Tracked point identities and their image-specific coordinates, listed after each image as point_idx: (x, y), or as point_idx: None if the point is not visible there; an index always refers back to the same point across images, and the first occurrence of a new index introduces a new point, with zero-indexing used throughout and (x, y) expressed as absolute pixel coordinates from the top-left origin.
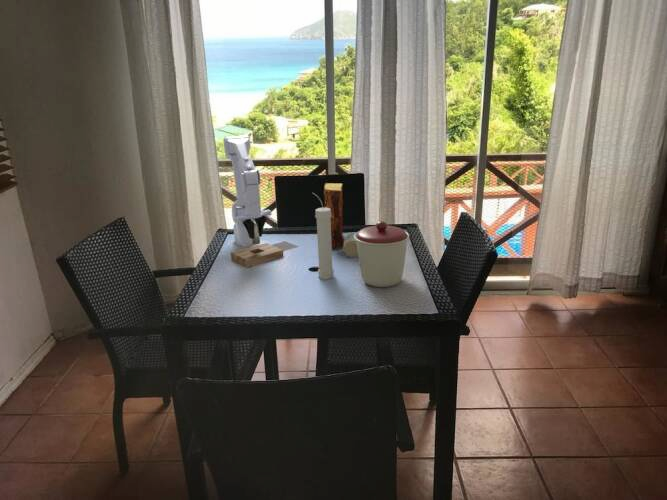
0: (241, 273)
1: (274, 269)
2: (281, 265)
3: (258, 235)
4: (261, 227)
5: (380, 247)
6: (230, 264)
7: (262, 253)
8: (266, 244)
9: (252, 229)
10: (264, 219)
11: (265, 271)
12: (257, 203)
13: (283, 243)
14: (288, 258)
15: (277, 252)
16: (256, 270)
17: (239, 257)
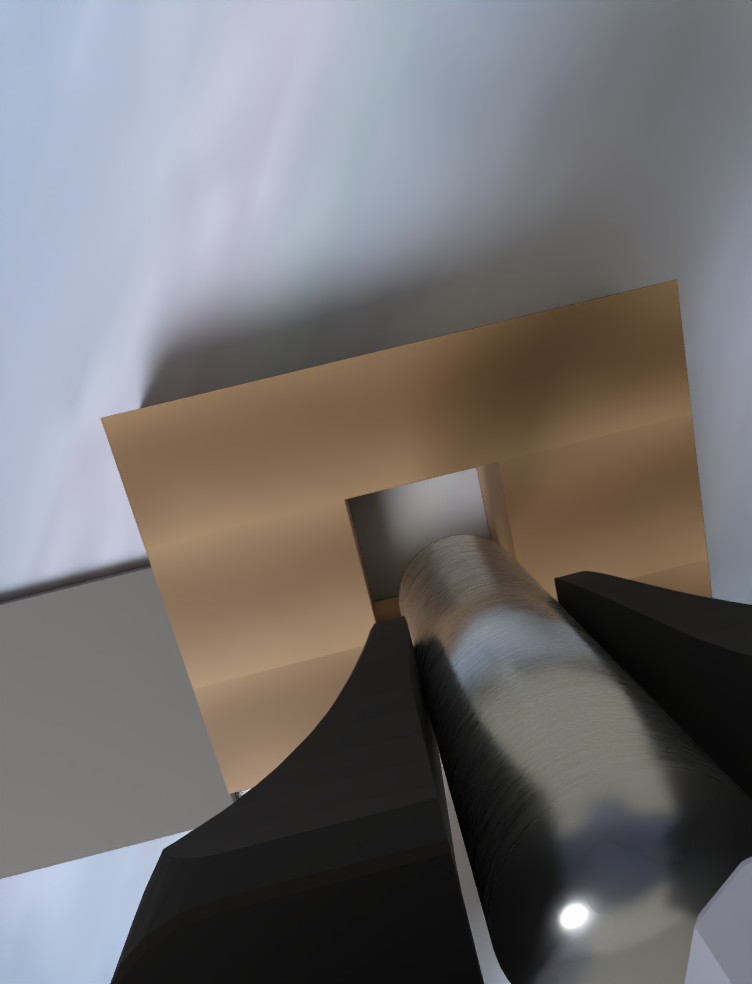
0: (745, 154)
1: (376, 47)
2: (251, 138)
3: (461, 598)
4: (395, 698)
5: None
6: (726, 500)
7: (406, 423)
8: (242, 732)
9: (710, 621)
10: (268, 863)
11: (495, 45)
12: None
13: (7, 820)
14: (94, 335)
15: (198, 394)
16: (571, 148)
17: (690, 466)
